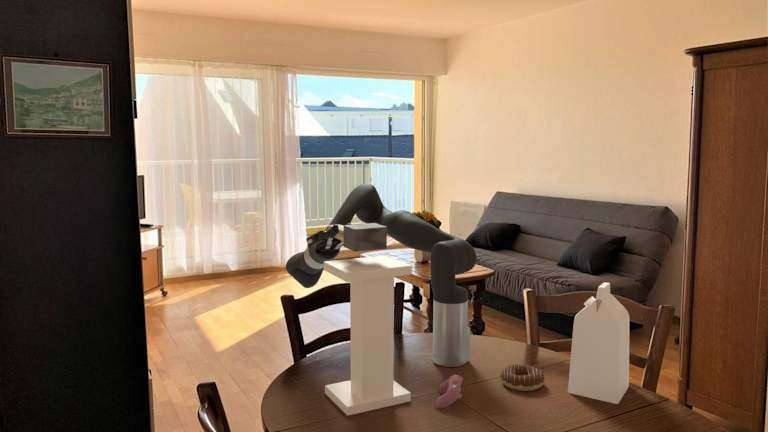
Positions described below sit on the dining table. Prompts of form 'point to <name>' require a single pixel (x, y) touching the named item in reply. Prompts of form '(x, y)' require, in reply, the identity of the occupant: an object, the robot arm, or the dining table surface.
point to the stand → (369, 334)
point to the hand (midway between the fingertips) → (343, 227)
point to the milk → (600, 349)
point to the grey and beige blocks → (363, 236)
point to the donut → (522, 377)
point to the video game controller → (449, 391)
